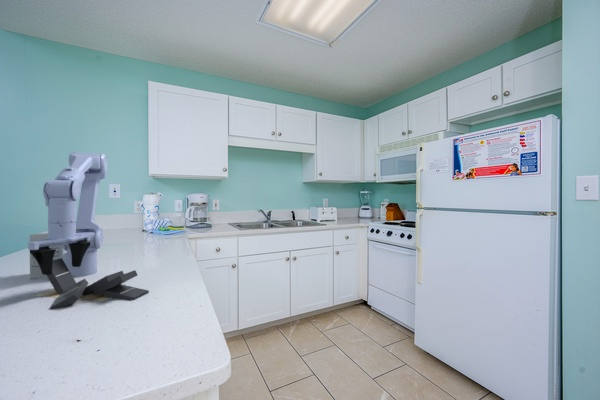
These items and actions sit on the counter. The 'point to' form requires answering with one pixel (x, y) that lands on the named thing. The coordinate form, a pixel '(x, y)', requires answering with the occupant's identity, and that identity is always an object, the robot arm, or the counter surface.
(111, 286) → the domino
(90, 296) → the board
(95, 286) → the domino
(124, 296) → the domino
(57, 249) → the supplement box
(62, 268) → the domino
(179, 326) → the counter surface
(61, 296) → the domino
